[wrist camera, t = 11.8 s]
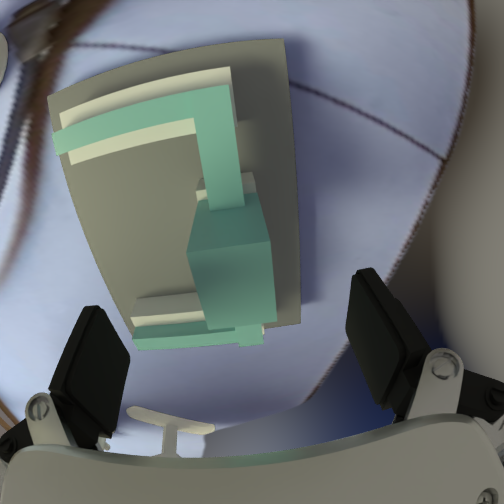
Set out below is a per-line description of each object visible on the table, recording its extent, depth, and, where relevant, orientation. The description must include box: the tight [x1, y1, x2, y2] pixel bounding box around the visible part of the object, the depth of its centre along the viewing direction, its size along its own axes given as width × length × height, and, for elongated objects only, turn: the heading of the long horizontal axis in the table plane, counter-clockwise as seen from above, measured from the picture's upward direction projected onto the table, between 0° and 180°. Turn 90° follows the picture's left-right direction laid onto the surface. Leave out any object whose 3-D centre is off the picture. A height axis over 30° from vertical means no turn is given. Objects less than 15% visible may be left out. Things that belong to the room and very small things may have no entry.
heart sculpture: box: [126, 406, 215, 458], centre depth 27 cm, size 16×5×18 cm, turn 62°
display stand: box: [47, 39, 301, 337], centre depth 17 cm, size 20×14×4 cm
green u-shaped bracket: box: [52, 85, 277, 350], centre depth 13 cm, size 15×10×5 cm, turn 6°
